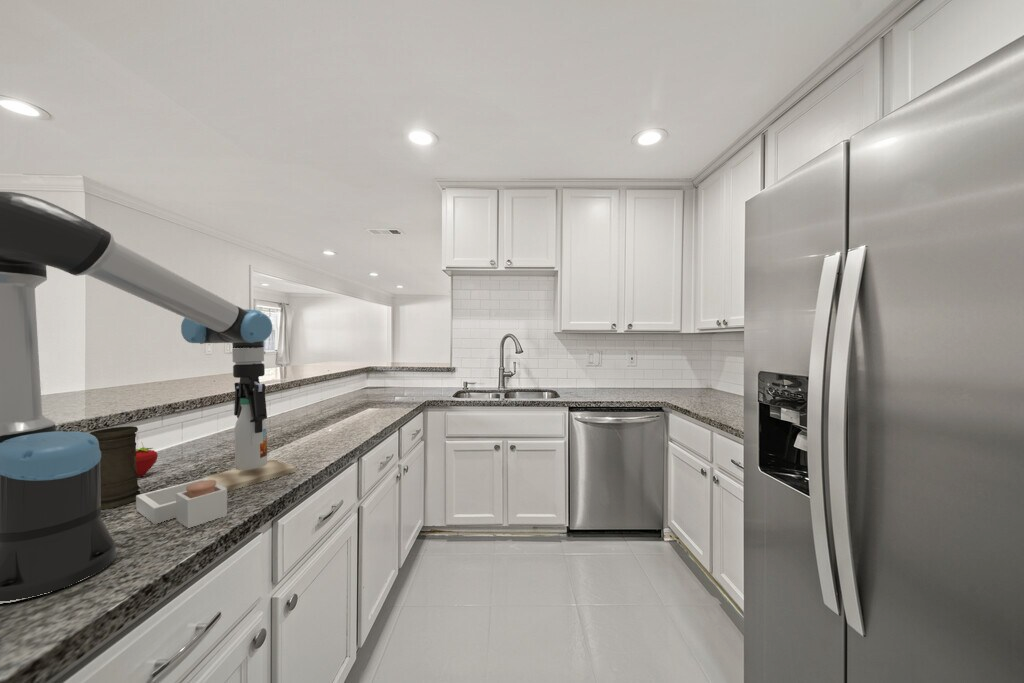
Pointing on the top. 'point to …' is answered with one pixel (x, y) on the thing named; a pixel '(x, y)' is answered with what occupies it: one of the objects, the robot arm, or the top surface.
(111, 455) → the container
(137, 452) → the strawberry
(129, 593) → the top surface
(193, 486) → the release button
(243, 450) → the milk bottle
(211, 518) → the dock
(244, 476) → the ash board
